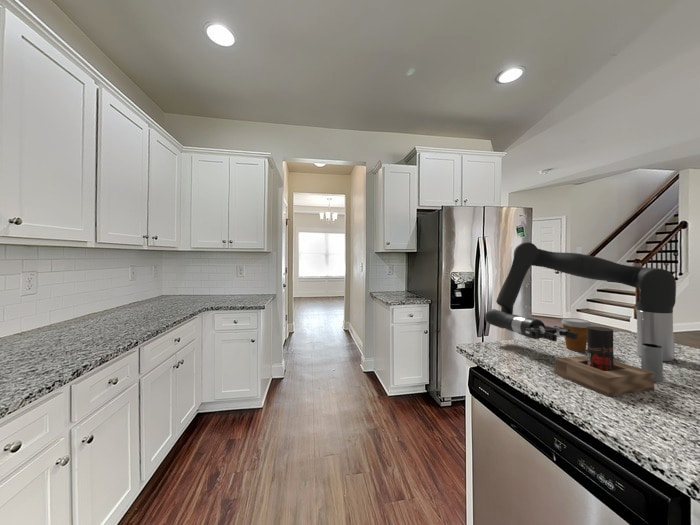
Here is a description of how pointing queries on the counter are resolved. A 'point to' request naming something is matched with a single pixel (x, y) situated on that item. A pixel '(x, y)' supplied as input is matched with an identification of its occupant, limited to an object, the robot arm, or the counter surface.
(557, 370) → the socket block
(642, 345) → the gray cylindrical tube
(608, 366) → the deodorant
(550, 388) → the counter surface
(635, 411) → the counter surface
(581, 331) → the disposable coffee cup
